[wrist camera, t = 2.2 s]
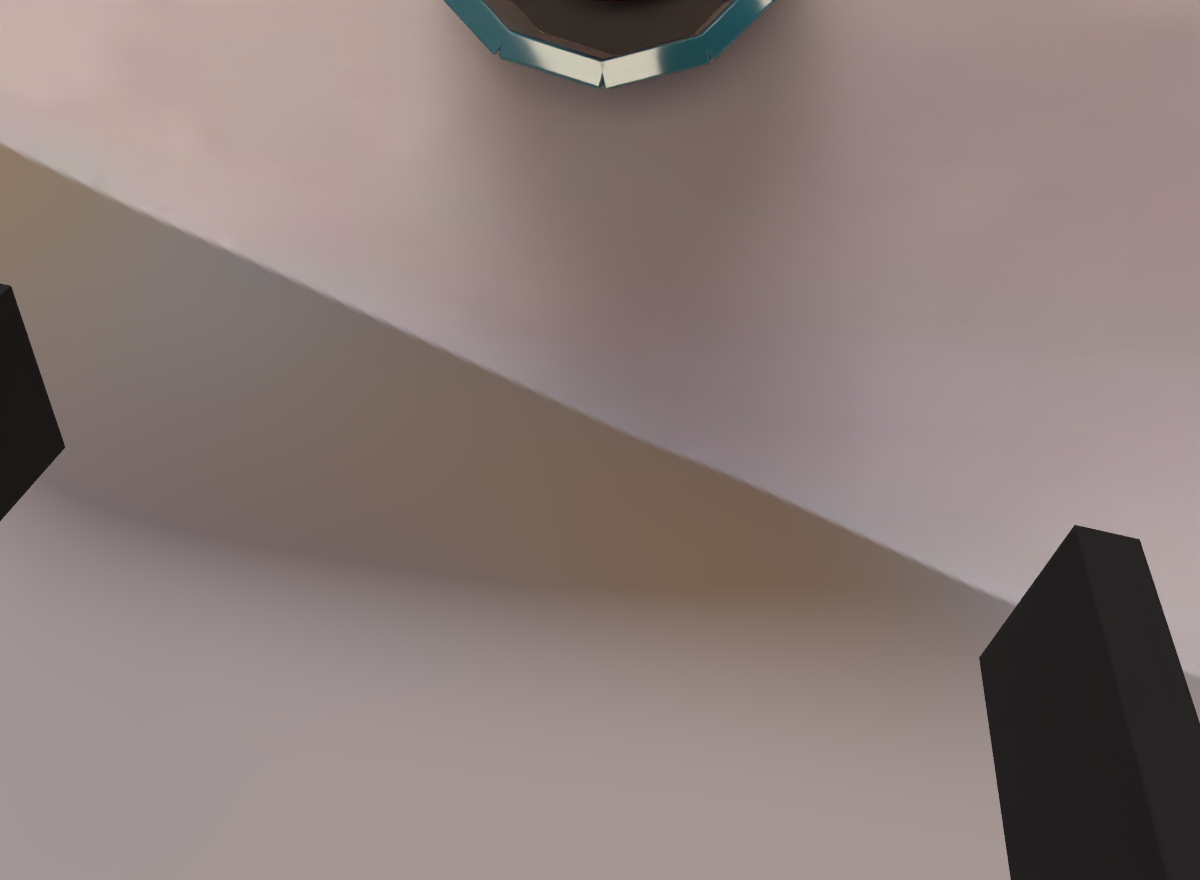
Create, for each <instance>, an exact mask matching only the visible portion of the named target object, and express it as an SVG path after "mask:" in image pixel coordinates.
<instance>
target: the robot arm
mask: <svg viewBox="0 0 1200 880" xmlns="http://www.w3.org/2000/svg"><path fill="white" fill-rule="evenodd" d="M64 448H65V445H64V442H63V439H62V436H61V433H60V430H59V428H58V425H57V421H56V418H55V416H54V413H53V410H52V407H51V404H50V401H49V398H48V395H47V392H46V389H45V386H44V383H43V380H42V377H41V374H40V371H39V368H38V365H37V362H36V359H35V356H34V353H33V350H32V347H31V344H30V341H29V338H28V335H27V332H26V329H25V326H24V323H23V320H22V317H21V314H20V311H19V308H18V306H17V303H16V299H15V297H14V293H13V290H12V287H11V286H9V285H4V284H0V521H1V520H2V518H3V517H4V516H5V515H6V514H7V513H8V512H9V511H10V509H11V508H12V507H13V506H14V505H15V504H16V503H17V501H18V500H19V499H20V498H21V497H22V496H23V495H24V494H25V492H26V491H27V490H28V489H29V488H30V487H31V485H32V484H33V483H34V482H35V481H36V480H37V479H38V477H39V476H40V475H41V474H42V473H43V472H44V471H45V470H46V468H47V467H48V466H49V465H50V464H51V463H52V462H53V461H54V459H55V458H56V457H57V456H58V455H59V454H60V453H61V452H62V450H63V449H64ZM979 659H980V666H981V673H982V680H983V687H984V694H985V701H986V708H987V715H988V722H989V729H990V736H991V743H992V750H993V757H994V764H995V772H996V778H997V785H998V793H999V799H1000V806H1001V814H1002V820H1003V828H1004V835H1005V842H1006V849H1007V855H1008V863H1009V870H1010V877H1011V880H1200V723H1199V720H1198V716H1197V713H1196V710H1195V707H1194V704H1193V701H1192V698H1191V695H1190V692H1189V689H1188V686H1187V683H1186V680H1185V677H1184V674H1183V671H1182V668H1181V664H1180V661H1179V658H1178V655H1177V652H1176V649H1175V646H1174V643H1173V640H1172V637H1171V634H1170V631H1169V628H1168V625H1167V622H1166V619H1165V616H1164V613H1163V610H1162V606H1161V603H1160V600H1159V597H1158V594H1157V591H1156V588H1155V585H1154V582H1153V579H1152V576H1151V573H1150V570H1149V567H1148V564H1147V561H1146V558H1145V555H1144V551H1143V548H1142V545H1141V542H1140V539H1135V538H1131V537H1126V536H1122V535H1117V534H1113V533H1108V532H1104V531H1100V530H1095V529H1091V528H1086V527H1082V526H1077V525H1074V527H1073V528H1072V530H1071V531H1070V532H1069V534H1068V535H1067V537H1066V538H1065V539H1064V541H1063V542H1062V544H1061V545H1060V546H1059V548H1058V549H1057V551H1056V552H1055V553H1054V555H1053V556H1052V557H1051V559H1050V560H1049V562H1048V563H1047V564H1046V566H1045V567H1044V569H1043V570H1042V571H1041V573H1040V574H1039V576H1038V577H1037V578H1036V580H1035V581H1034V582H1033V584H1032V585H1031V587H1030V588H1029V589H1028V591H1027V592H1026V594H1025V595H1024V596H1023V598H1022V599H1021V601H1020V602H1019V603H1018V605H1017V606H1016V607H1015V609H1014V610H1013V612H1012V613H1011V614H1010V616H1009V617H1008V619H1007V620H1006V622H1005V623H1004V624H1003V626H1002V627H1001V628H1000V630H999V631H998V632H997V634H996V635H995V637H994V638H993V640H992V641H991V642H990V644H989V645H988V646H987V648H986V649H985V651H984V652H983V653H982V655H981V656H980V658H979Z"/></svg>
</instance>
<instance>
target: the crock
mask: <svg viewBox="0 0 1200 880" xmlns="http://www.w3.org/2000/svg"><path fill="white" fill-rule="evenodd" d="M776 1H777V0H726V1H725V2H724V3H723V4H722V5H721V6H720V7H719V8H718V9H717V10H716V11H715V12H714V13H713V14H712V15H711V16H710V17H709V18H708V19H707V20H706V21H705V22H704V23H703V24H702V25H701V26H700V27H699V28H698V29H697V30H696V31H695V32H694V33H693V34H692V35H691V36H688V37H684V38H680V39H677V40H673V41H669V42H665V43H661V44H657V45H653V46H650V47H646V48H642V49H638V50H634V51H630V52H626V53H623V54H619V55H612V54H609V53H605V52H602V51H599V50H596V49H593V48H590V47H587V46H583V45H580V44H577V43H574V42H571V41H568V40H565V39H562V38H558V37H555V36H552V35H549V34H546V33H543V32H540V30H539V29H538V28H537V27H536V26H535V25H534V24H533V23H532V21H531V20H530V19H529V18H528V17H527V16H526V15H525V14H524V13H523V11H522V10H521V9H520V8H519V7H518V6H517V5H516V4H515V2H514V1H513V0H444V2H445V3H446V4H447V5H448V6H449V7H450V8H451V9H452V10H453V11H454V12H455V14H456V15H457V16H458V17H459V18H460V19H461V20H462V21H463V22H464V23H465V24H466V26H467V27H468V28H469V29H470V30H471V31H472V32H473V33H474V34H475V35H476V36H477V38H478V39H479V40H480V41H481V42H482V43H483V44H484V45H485V46H486V47H487V48H488V50H489V51H490V52H491V53H492V54H494V55H498V54H499V58H501V59H503V60H506V61H509V62H512V63H515V64H519V65H522V66H525V67H528V68H531V69H534V70H538V71H541V72H544V73H547V74H550V75H553V76H557V77H560V78H563V79H566V80H569V81H572V82H575V83H579V84H582V85H585V86H588V87H591V88H594V89H601V88H602V87H603V86H604V89H605V90H609V89H613V88H617V87H621V86H625V85H629V84H633V83H637V82H641V81H645V80H649V79H653V78H656V77H660V76H664V75H668V74H672V73H676V72H680V71H684V70H688V69H692V68H696V67H700V66H704V65H708V64H709V63H710V59H712V60H716V59H717V58H718V57H719V56H720V55H721V54H722V53H723V52H724V51H725V50H726V49H727V48H728V47H729V46H730V45H732V44H733V43H734V42H735V41H736V40H737V39H738V38H739V37H740V36H741V35H742V34H743V33H744V32H745V31H746V30H747V29H748V28H749V27H750V26H751V25H752V24H753V23H754V22H755V21H756V20H757V19H758V18H759V17H760V16H761V15H762V14H763V13H764V12H765V11H766V10H767V9H768V8H769V7H770V6H771V5H773V4H774V3H775V2H776Z"/></svg>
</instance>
